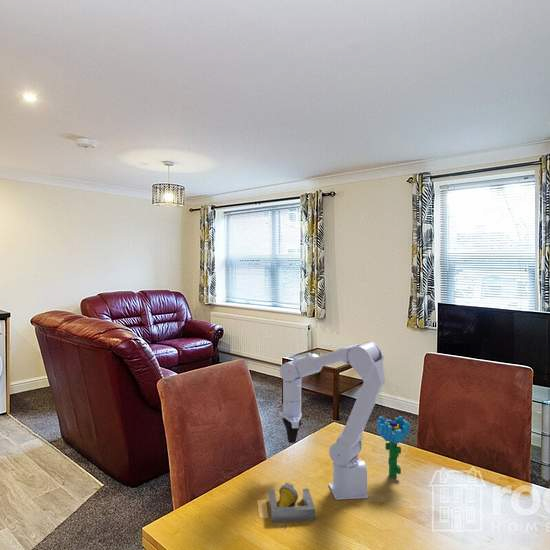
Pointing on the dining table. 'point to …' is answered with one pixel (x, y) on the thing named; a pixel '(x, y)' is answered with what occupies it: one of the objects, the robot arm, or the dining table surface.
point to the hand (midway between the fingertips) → (291, 442)
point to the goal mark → (262, 509)
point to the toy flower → (393, 440)
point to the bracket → (292, 509)
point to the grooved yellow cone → (287, 495)
